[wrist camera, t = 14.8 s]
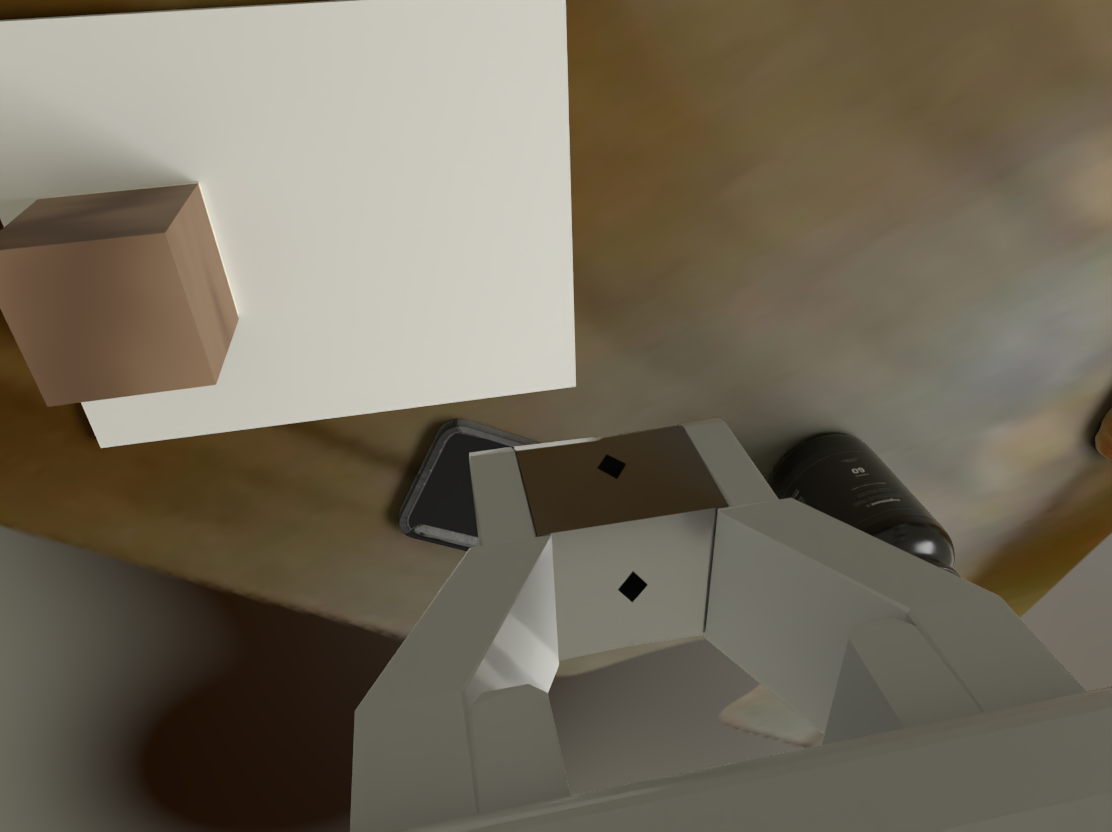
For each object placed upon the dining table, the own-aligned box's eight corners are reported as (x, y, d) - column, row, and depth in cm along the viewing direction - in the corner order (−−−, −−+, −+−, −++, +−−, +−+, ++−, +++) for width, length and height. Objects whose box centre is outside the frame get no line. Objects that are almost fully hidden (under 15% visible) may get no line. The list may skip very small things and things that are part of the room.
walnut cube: (-27, 252, 26) (41, 196, 31) (47, 406, 29) (97, 332, 34) (165, 232, 26) (200, 180, 31) (215, 384, 30) (240, 315, 35)
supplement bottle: (887, 431, 47) (1024, 571, 37) (848, 520, 50) (963, 669, 40) (783, 428, 45) (897, 574, 35) (751, 520, 49) (846, 676, 39)
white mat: (562, -13, 31) (565, -12, 30) (573, 380, 41) (575, 386, 40) (-76, 24, 28) (-85, 26, 27) (104, 440, 37) (100, 447, 37)
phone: (623, 589, 49) (392, 533, 43) (618, 576, 50) (392, 520, 44) (688, 494, 45) (448, 419, 40) (682, 482, 46) (446, 407, 41)
